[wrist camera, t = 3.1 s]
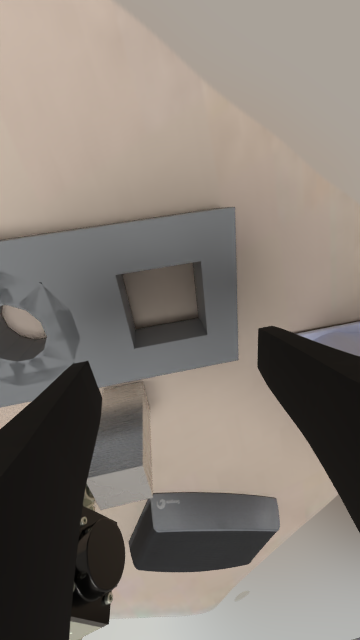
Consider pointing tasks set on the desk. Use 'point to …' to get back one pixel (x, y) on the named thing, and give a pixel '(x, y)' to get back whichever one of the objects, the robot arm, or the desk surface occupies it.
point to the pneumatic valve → (95, 570)
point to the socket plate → (115, 301)
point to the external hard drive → (202, 531)
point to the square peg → (122, 448)
